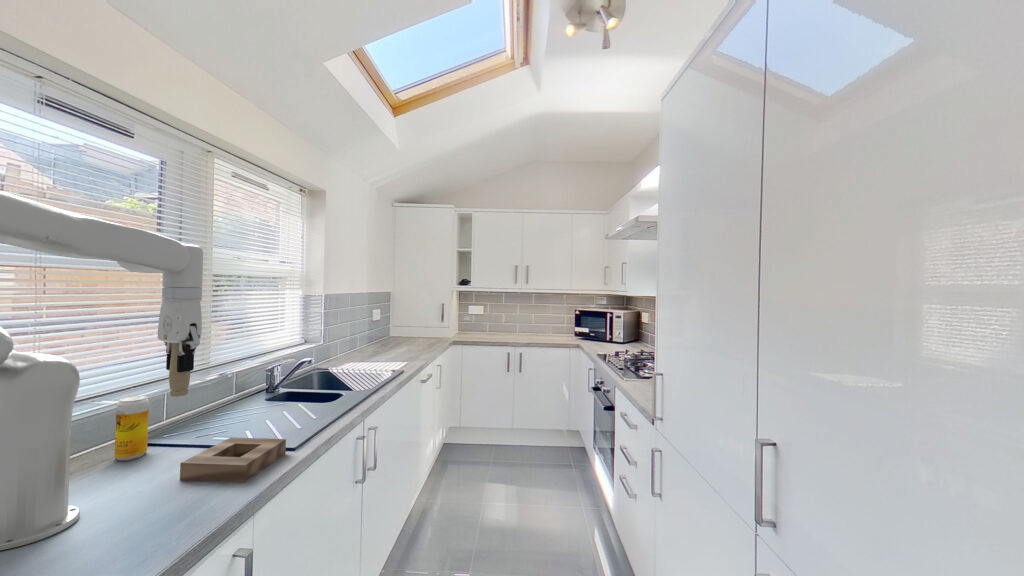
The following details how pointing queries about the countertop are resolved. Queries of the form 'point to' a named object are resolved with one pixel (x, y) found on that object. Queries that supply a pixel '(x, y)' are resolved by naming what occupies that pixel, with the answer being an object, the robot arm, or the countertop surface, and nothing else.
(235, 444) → the keyed socket block
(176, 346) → the tan flared peg
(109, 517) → the countertop surface
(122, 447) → the beer can
